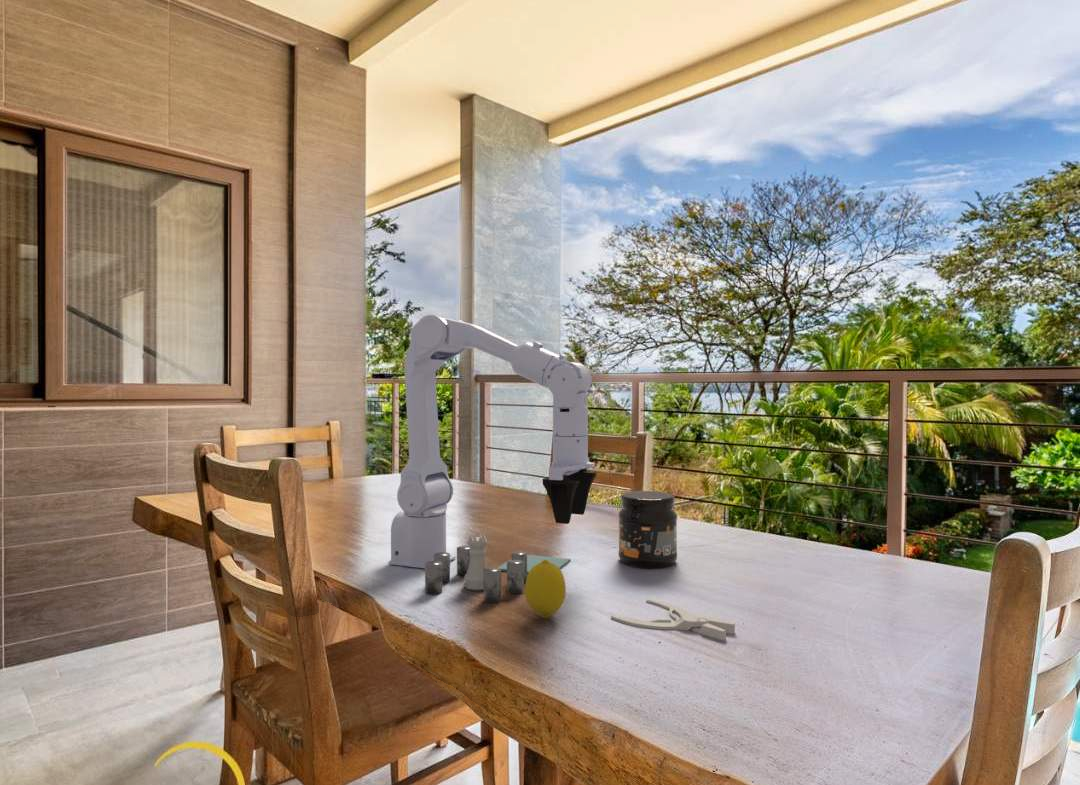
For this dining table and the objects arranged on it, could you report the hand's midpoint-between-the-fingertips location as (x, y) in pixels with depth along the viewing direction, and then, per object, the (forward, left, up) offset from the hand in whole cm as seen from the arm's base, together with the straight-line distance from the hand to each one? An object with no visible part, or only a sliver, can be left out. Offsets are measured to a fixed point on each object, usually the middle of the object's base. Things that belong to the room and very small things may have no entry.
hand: (570, 518), depth 105 cm
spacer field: (-12, -9, -10) cm, 18 cm away
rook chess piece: (-13, -9, -10) cm, 18 cm away
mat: (-8, +5, -10) cm, 14 cm away
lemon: (+3, -18, -10) cm, 21 cm away
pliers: (+20, -13, -11) cm, 26 cm away
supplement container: (+10, +15, -10) cm, 21 cm away
